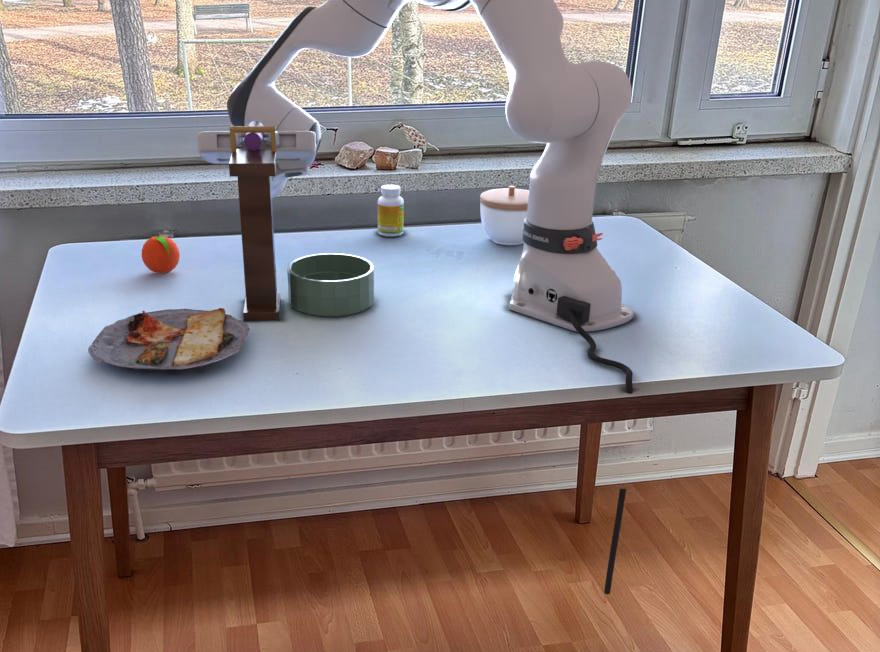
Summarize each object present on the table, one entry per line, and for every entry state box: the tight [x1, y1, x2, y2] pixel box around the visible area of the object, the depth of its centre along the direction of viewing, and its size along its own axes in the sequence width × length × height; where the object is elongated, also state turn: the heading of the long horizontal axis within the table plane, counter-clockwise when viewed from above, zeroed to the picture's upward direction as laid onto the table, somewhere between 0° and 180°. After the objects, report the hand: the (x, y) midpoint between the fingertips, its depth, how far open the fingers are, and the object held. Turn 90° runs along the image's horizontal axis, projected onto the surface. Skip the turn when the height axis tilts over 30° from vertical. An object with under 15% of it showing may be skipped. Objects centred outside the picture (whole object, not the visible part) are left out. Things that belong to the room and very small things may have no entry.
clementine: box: [141, 234, 180, 275], centre depth 185 cm, size 8×7×7 cm
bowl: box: [286, 252, 375, 318], centre depth 173 cm, size 15×15×6 cm
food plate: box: [87, 307, 251, 372], centre depth 156 cm, size 25×23×4 cm
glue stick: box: [244, 121, 263, 151], centre depth 165 cm, size 12×3×3 cm, turn 5°
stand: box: [228, 125, 282, 322], centre depth 163 cm, size 10×7×30 cm
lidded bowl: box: [479, 185, 529, 246], centre depth 204 cm, size 13×13×11 cm
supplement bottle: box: [377, 184, 405, 238], centre depth 208 cm, size 5×5×10 cm
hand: (254, 131), depth 165 cm, fingers closed on glue stick, 3 cm apart
